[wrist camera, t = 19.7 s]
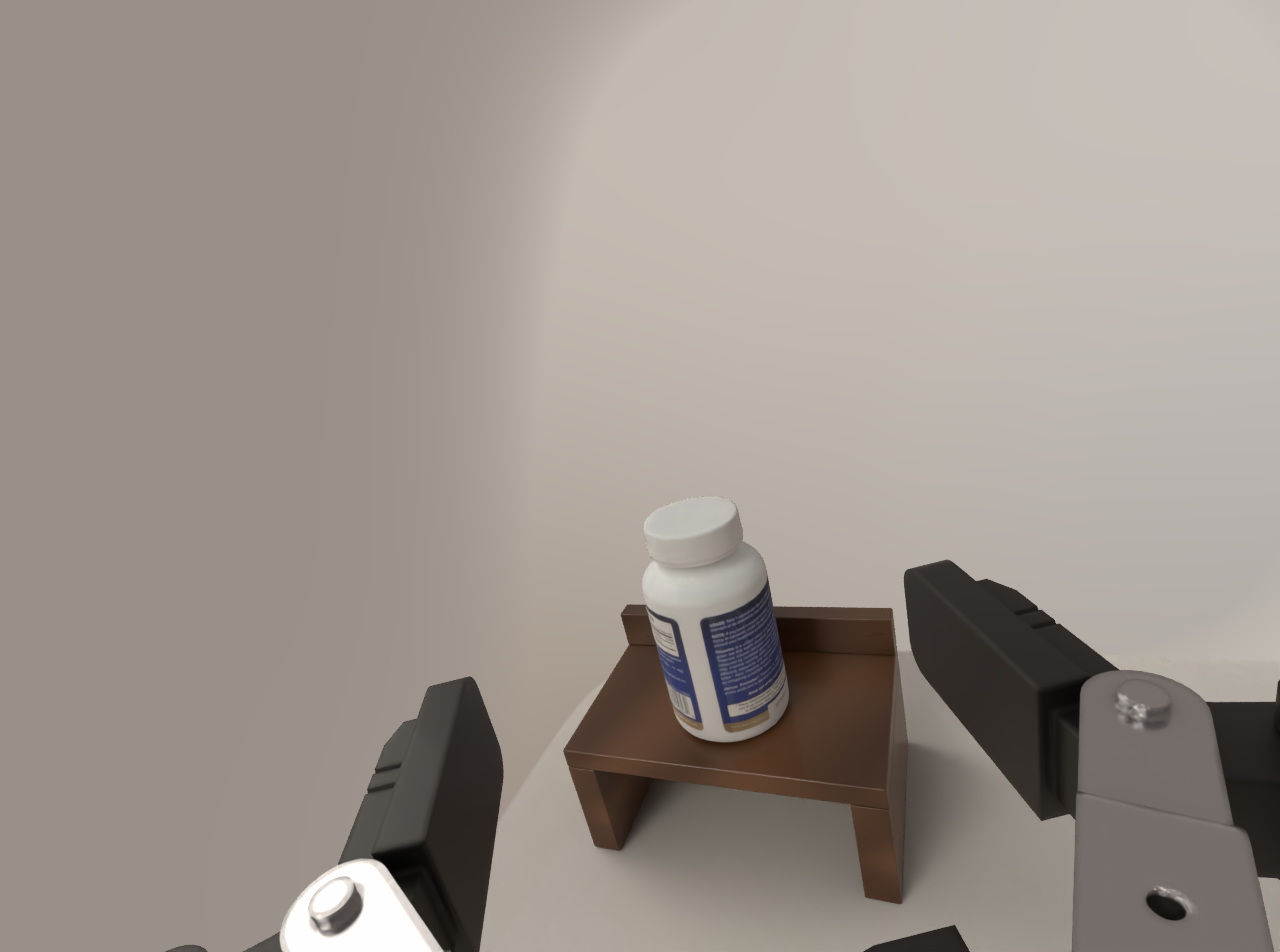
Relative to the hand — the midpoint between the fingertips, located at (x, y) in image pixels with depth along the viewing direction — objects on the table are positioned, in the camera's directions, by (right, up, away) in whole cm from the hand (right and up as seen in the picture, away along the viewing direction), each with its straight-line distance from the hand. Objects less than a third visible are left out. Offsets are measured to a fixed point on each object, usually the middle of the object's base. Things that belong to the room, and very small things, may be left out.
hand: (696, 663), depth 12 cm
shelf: (+5, -12, +21) cm, 25 cm away
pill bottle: (+3, -7, +19) cm, 20 cm away
